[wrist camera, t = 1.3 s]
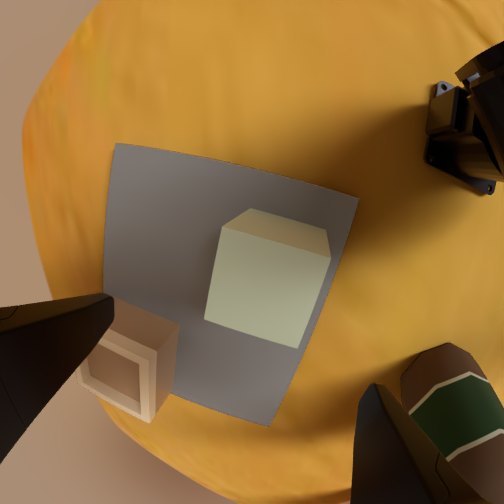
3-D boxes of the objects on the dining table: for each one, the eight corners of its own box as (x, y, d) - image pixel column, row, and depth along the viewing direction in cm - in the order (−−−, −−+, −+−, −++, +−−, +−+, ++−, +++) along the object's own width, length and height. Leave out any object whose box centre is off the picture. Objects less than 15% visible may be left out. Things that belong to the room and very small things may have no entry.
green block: (325, 229, 18) (331, 258, 12) (303, 298, 19) (297, 348, 14) (250, 208, 18) (222, 226, 13) (234, 277, 20) (203, 319, 14)
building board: (357, 197, 18) (377, 211, 12) (270, 419, 25) (258, 468, 19) (123, 143, 20) (67, 141, 14) (112, 357, 27) (79, 390, 21)
